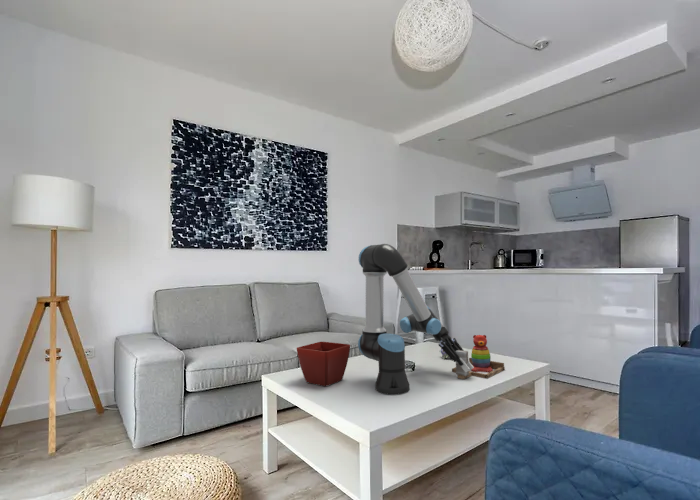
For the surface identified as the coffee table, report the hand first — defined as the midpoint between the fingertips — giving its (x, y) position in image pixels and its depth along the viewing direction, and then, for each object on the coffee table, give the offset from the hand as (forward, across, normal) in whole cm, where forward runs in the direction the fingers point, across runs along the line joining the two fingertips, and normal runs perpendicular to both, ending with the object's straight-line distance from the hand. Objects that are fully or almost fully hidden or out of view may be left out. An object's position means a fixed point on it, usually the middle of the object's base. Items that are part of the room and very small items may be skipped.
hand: (469, 369), depth 176 cm
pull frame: (0, -12, -6) cm, 13 cm away
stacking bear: (+1, -19, -6) cm, 20 cm away
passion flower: (-16, -32, -24) cm, 43 cm away
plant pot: (-32, +46, -40) cm, 69 cm away
